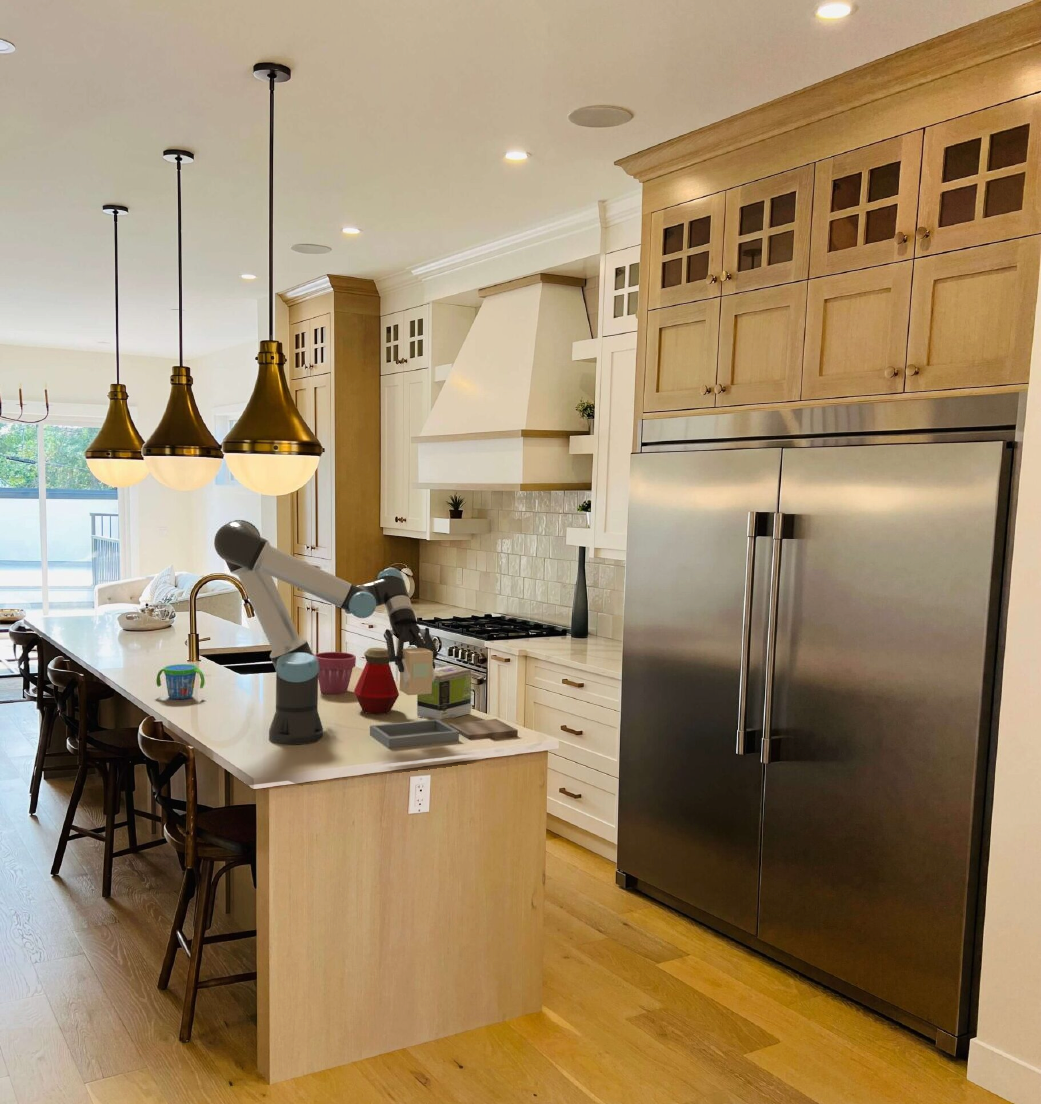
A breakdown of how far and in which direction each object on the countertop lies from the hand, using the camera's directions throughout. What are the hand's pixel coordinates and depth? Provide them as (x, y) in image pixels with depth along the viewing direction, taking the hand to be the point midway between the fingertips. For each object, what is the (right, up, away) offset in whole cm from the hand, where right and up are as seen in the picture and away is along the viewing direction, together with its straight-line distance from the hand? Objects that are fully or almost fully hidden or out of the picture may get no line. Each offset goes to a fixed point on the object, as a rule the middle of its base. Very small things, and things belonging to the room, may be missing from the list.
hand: (420, 679), depth 272 cm
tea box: (+4, -16, +35) cm, 39 cm away
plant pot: (-37, -13, +63) cm, 74 cm away
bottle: (-18, -15, +38) cm, 45 cm away
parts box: (-2, -4, +3) cm, 5 cm away
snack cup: (-84, -12, +46) cm, 97 cm away
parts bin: (-2, -18, +4) cm, 19 cm away
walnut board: (+17, -18, +15) cm, 29 cm away
